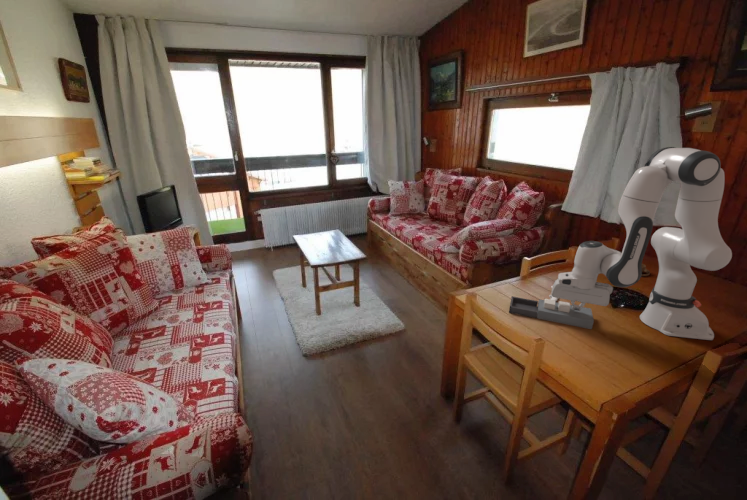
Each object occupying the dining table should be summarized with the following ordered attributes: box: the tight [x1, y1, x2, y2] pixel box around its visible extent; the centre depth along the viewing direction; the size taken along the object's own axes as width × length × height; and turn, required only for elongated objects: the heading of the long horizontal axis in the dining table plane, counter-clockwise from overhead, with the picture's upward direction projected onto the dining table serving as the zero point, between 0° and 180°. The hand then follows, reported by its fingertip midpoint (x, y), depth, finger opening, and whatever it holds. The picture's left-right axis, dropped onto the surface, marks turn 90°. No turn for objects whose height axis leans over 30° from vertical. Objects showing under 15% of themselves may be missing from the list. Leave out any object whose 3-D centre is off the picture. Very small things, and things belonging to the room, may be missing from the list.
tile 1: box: [543, 298, 555, 310], centre depth 142 cm, size 4×4×2 cm
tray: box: [508, 296, 539, 319], centre depth 147 cm, size 11×10×3 cm
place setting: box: [641, 263, 651, 277], centre depth 178 cm, size 18×20×6 cm
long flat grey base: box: [536, 298, 595, 330], centre depth 140 cm, size 20×10×4 cm, turn 64°
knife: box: [548, 285, 559, 302], centre depth 161 cm, size 30×2×8 cm
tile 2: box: [557, 300, 571, 313], centre depth 139 cm, size 4×4×2 cm
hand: (576, 309), depth 137 cm, fingers closed
